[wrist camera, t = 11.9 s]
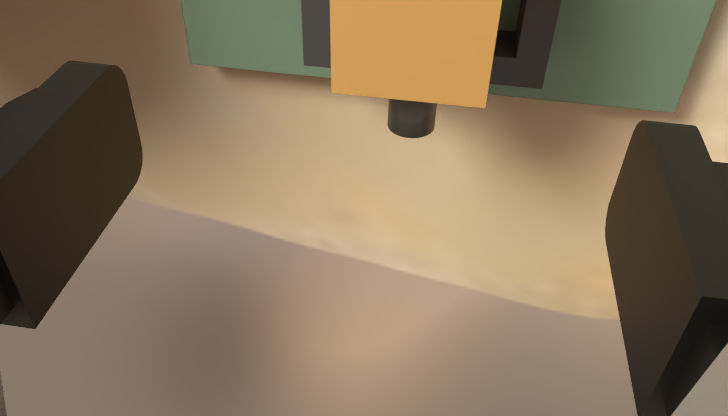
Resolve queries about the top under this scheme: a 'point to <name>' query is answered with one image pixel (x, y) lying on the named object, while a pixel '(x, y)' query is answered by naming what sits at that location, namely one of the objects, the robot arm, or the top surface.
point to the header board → (512, 48)
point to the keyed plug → (414, 55)
